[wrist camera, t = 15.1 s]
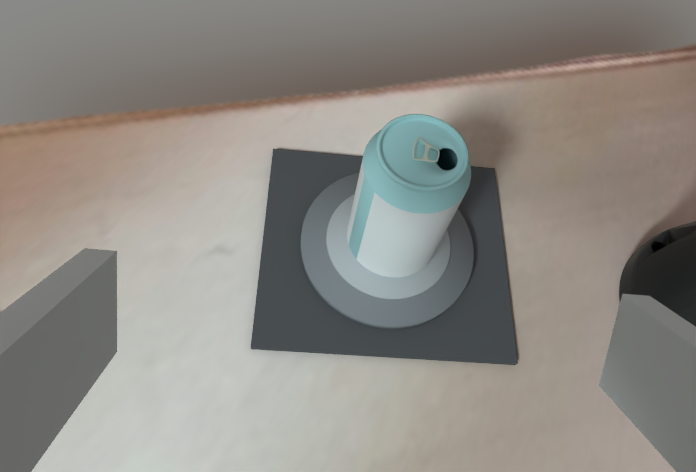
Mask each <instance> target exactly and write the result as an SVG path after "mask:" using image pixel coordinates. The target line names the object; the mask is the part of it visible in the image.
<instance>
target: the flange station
mask: <svg viewBox="0 0 696 472" xmlns="http://www.w3.org/2000/svg"><path fill="white" fill-rule="evenodd" d="M362 159H363V157H361V156H350V155H339V154H327V153H316V152H305V151H294V150H283V149H273V156H272V165H271V174H270V183H269V192H268V200H267V209H266V218H265V227H264V236H263V244H262V253H261V262H260V271H259V280H258V289H257V297H256V306H255V315H254V324H253V333H252V341H251V349H260V350H276V351H293V352H309V353H326V354H343V355H359V356H376V357H392V358H409V359H426V360H442V361H459V362H475V363H492V364H508V365H516V364H517V363H518V362H517V353H516V345H515V336H514V328H513V320H512V311H511V303H510V294H509V286H508V277H507V269H506V261H505V252H504V244H503V235H502V227H501V218H500V210H499V202H498V193H497V185H496V176H495V168H484V167H473V166H471V180H470V185H469V188H468V190H467V192H466V194H465V196H464V197H463V199H462V201H461V203H460V205H459V207H458V209H457V211H456V213H455V214H454V216H453V218H452V220H451V222H450V224H449V226H448V228H447V230H446V231H445V233H444V235H443V237H442V239H441V241H440V243H439V245H438V247H437V248H436V250H435V252H434V254H433V256H432V258H431V260H430V261H429V262H428V264H427V265H426V266H425V267H424V268H422V269H421V270H420V271H418V272H416V273H414V274H412V275H409V276H405V277H386V276H382V275H378V274H376V273H374V272H372V271H370V270H368V269H367V268H365V267H364V266H363V265H361V264H360V263H359V262H358V260H357V259H356V258H355V257H354V255H353V254H352V252H351V250H350V247H349V244H348V240H347V229H348V224H349V219H350V215H351V210H352V205H353V201H354V196H355V191H356V187H357V182H358V178H359V173H360V168H361V164H362Z"/></svg>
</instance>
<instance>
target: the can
mask: <svg viewBox="0 0 696 472" xmlns="http://www.w3.org/2000/svg"><path fill="white" fill-rule="evenodd" d="M470 180H471V166H470V162H469V154H468V149H467V146H466V143H465V141H464V139H463V138H462V136H461V135H460V134H459V133H458V132H457V131H456V130H455V129H454V128H453V127H452V126H451V125H449V124H448V123H446V122H444V121H443V120H440V119H438V118H436V117H432V116H429V115H423V114H409V115H404V116H400V117H398V118H395V119H393V120H392V121H390V122H389V123H388V124H386V125H385V126H384V128H383V129H382V130H380V131H379V132H378V133H376V134H375V135H374V136H373V137H372V139H371V140H370V141H369V143H368V144H367V146H366V148H365V151H364V154H363V159H362V164H361V168H360V173H359V178H358V182H357V187H356V191H355V196H354V201H353V205H352V210H351V215H350V219H349V224H348V229H347V240H348V244H349V247H350V250H351V252H352V254H353V255H354V257H355V258H356V259H357V260H358V262H359V263H360V264H361V265H363V266H364V267H365V268H367V269H368V270H370V271H372V272H374V273H376V274H378V275H382V276H386V277H405V276H409V275H412V274H414V273H416V272H418V271H420V270H421V269H422V268H424V267H425V266H426V265H427V264H428V262H429V261H430V260H431V258H432V256H433V254H434V252H435V250H436V248H437V247H438V245H439V243H440V241H441V239H442V237H443V235H444V233H445V231H446V230H447V228H448V226H449V224H450V222H451V220H452V218H453V216H454V214H455V213H456V211H457V209H458V207H459V205H460V203H461V201H462V199H463V197H464V196H465V194H466V192H467V190H468V188H469V185H470Z"/></svg>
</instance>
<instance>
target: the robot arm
mask: <svg viewBox="0 0 696 472" xmlns="http://www.w3.org/2000/svg"><path fill="white" fill-rule="evenodd" d="M619 295H620V305H619V309H618V313H617V317H616V321H615V325H614V329H613V333H612V337H611V341H610V345H609V349H608V353H607V356H606V360H605V364H604V368H603V372H602V376H601V380H600V384H599V386H600V387H601V388H602V389H603V390H604V392H605V393H606V394H607V395H608V396H609V397H610V398H611V399H612V400H613V402H614V403H615V404H616V405H617V406H618V407H619V408H620V409H621V410H622V412H623V413H624V414H625V415H626V416H627V417H628V418H629V419H630V420H631V422H632V423H633V424H634V425H635V426H636V427H637V428H638V429H639V430H640V432H641V433H642V434H643V435H644V436H645V437H646V438H647V439H648V440H649V442H650V443H651V444H652V445H653V446H654V447H655V448H656V449H657V450H658V452H659V453H660V454H661V455H662V456H663V457H664V458H665V459H666V460H667V462H668V463H669V464H670V465H671V466H672V467H673V468H674V469H675V470H676V472H696V221H695V222H692V223H688V224H685V225H681V226H678V227H674V228H671V229H668V230H666V231H664V232H662V233H660V234H658V235H656V236H655V237H653V238H652V239H651V240H649V241H648V242H647V243H646V244H645V245H643V246H642V247H641V248H640V249H638V250H637V251H636V252H635V253H634V254H633V255H632V256H631V258H630V259H629V261H628V262H627V264H626V266H625V268H624V270H623V273H622V277H621V281H620V291H619ZM116 352H117V251H110V250H98V249H86V248H85V249H84V250H82V251H81V252H80V253H78V254H77V255H76V256H74V257H73V258H72V259H70V260H69V261H68V262H66V263H65V264H64V265H62V266H61V267H60V268H59V269H57V270H56V271H55V272H53V273H52V274H51V275H49V276H48V277H47V278H45V279H44V280H43V281H41V282H40V283H39V284H37V285H36V286H35V287H33V288H32V289H31V290H30V291H28V292H27V293H26V294H24V295H23V296H22V297H20V298H19V299H18V300H16V301H15V302H14V303H12V304H11V305H10V306H8V307H7V308H6V309H5V310H3V311H2V312H1V313H0V472H31V471H32V469H33V468H34V467H35V465H36V464H37V463H38V461H39V460H40V458H41V457H42V456H43V454H44V453H45V451H46V450H47V449H48V447H49V446H50V444H51V443H52V442H53V440H54V439H55V437H56V436H57V435H58V433H59V432H60V430H61V429H62V428H63V426H64V425H65V423H66V422H67V421H68V419H69V418H70V416H71V415H72V414H73V412H74V411H75V409H76V408H77V407H78V405H79V404H80V402H81V401H82V400H83V398H84V397H85V395H86V394H87V393H88V391H89V390H90V389H91V387H92V386H93V384H94V383H95V382H96V380H97V379H98V377H99V376H100V375H101V373H102V372H103V370H104V369H105V368H106V366H107V365H108V363H109V362H110V361H111V359H112V358H113V356H114V355H115V354H116Z"/></svg>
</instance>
